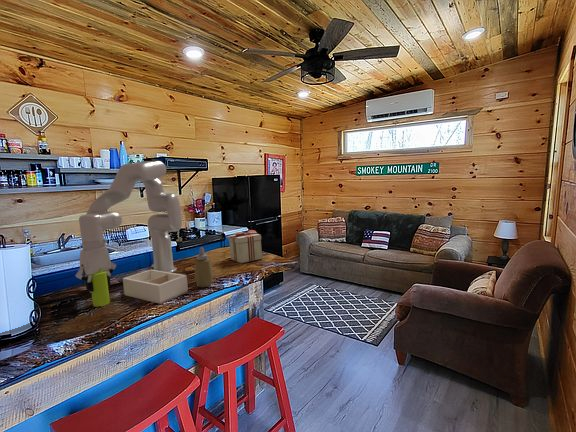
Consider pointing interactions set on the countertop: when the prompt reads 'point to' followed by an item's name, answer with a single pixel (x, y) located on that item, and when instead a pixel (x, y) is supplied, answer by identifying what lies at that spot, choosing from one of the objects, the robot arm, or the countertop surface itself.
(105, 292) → the soap dispenser
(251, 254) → the gift box
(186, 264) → the countertop surface
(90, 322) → the countertop surface
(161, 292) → the caddy
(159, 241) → the robot arm
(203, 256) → the squeeze bottle
